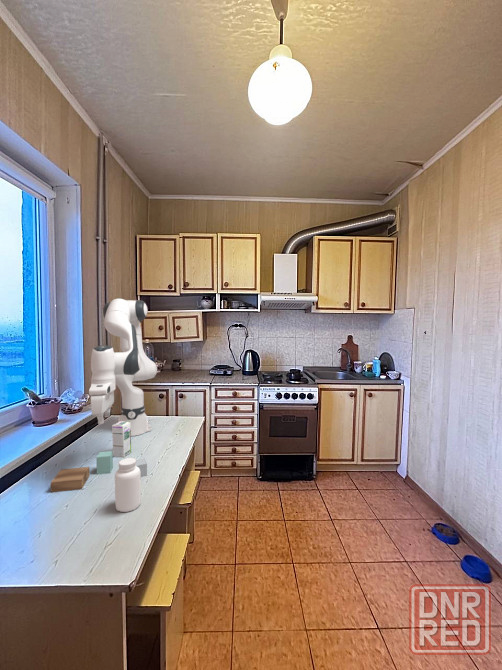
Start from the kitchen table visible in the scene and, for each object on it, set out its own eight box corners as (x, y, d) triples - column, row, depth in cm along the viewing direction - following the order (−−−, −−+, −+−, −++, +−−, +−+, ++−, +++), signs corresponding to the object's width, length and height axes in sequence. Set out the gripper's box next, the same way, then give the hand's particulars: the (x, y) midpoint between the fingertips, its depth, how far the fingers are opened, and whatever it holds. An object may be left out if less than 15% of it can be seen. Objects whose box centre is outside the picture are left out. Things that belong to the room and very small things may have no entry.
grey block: (131, 473, 125) (131, 461, 125) (144, 470, 127) (144, 458, 127) (133, 478, 120) (133, 466, 120) (147, 476, 123) (146, 463, 123)
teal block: (99, 468, 128) (99, 452, 128) (112, 467, 130) (112, 451, 129) (96, 474, 124) (96, 457, 123) (110, 473, 125) (110, 456, 124)
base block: (61, 479, 120) (61, 469, 120) (89, 476, 123) (89, 466, 122) (51, 493, 111) (50, 482, 110) (81, 490, 113) (81, 479, 113)
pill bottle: (121, 498, 107) (121, 455, 107) (144, 498, 107) (144, 456, 106) (110, 512, 99) (109, 466, 99) (135, 513, 99) (134, 467, 98)
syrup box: (124, 457, 139) (123, 425, 138) (112, 456, 140) (111, 424, 139) (131, 452, 144) (131, 421, 144) (120, 451, 145) (119, 420, 145)
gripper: (102, 381, 135) (102, 413, 135) (87, 391, 115) (88, 428, 115) (117, 381, 136) (118, 412, 136) (105, 390, 116) (106, 427, 116)
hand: (104, 420), depth 126 cm, fingers open, 8 cm apart
